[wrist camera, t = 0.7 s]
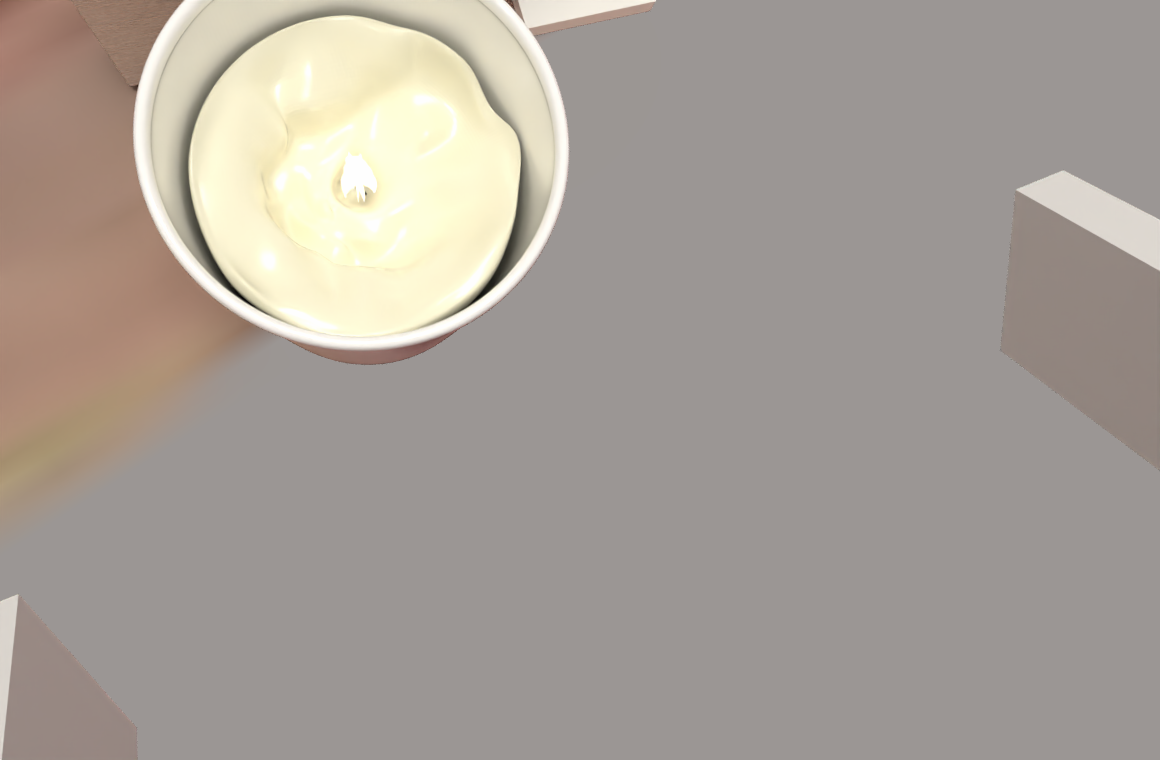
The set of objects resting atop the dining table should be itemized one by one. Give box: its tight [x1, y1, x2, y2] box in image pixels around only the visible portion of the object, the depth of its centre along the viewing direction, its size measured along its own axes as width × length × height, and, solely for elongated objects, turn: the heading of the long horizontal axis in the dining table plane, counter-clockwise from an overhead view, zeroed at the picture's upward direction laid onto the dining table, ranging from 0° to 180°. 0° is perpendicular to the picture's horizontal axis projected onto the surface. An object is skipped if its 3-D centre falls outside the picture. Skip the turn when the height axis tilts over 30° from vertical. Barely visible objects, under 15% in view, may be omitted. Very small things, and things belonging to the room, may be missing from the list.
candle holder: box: [133, 0, 569, 365], centre depth 28 cm, size 10×10×12 cm
